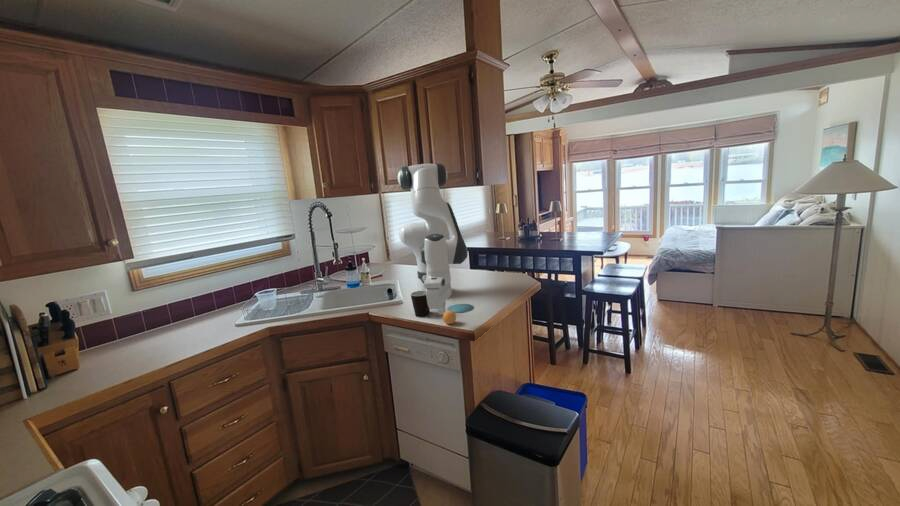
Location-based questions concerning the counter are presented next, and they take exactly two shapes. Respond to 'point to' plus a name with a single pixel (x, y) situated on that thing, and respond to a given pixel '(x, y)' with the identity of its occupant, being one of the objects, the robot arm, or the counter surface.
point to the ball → (449, 317)
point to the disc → (460, 308)
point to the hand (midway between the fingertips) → (442, 313)
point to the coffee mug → (420, 303)
